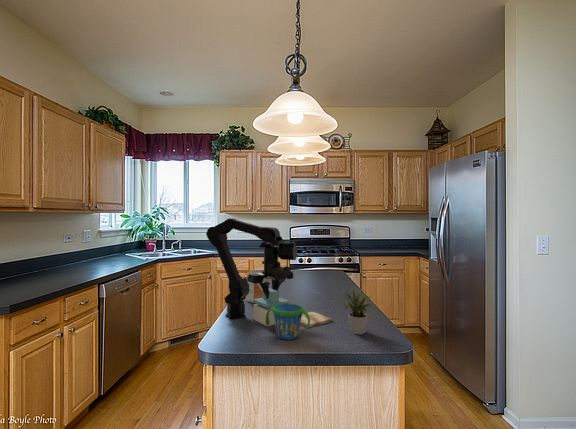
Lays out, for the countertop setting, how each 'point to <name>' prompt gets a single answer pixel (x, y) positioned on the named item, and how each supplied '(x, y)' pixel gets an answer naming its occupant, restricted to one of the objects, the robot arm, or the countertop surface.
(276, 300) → the lid
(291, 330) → the snack cup
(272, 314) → the storage box
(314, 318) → the wooden board
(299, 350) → the countertop surface
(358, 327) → the house plant
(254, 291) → the small box
